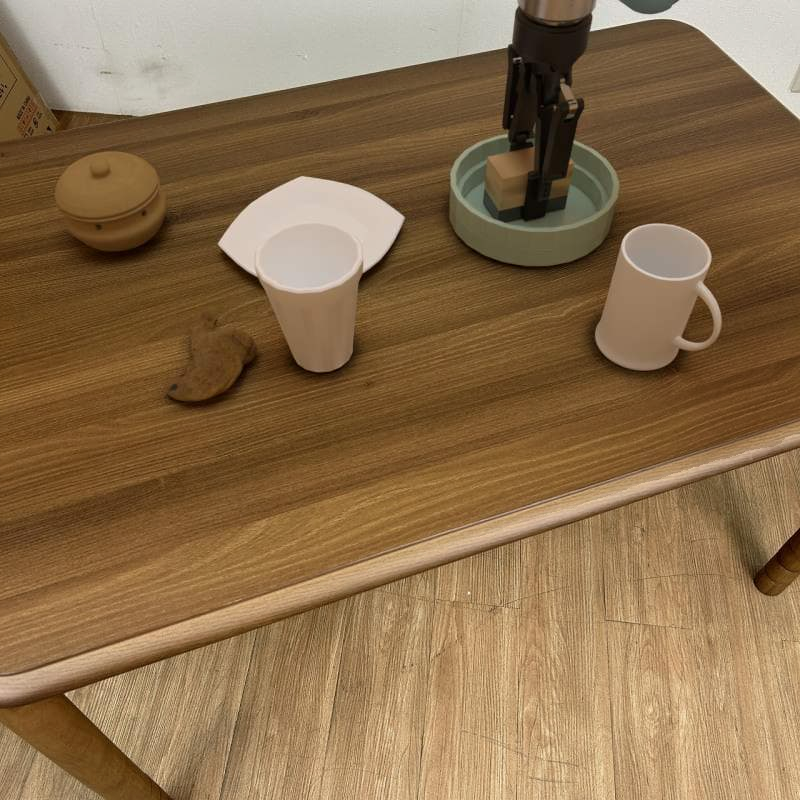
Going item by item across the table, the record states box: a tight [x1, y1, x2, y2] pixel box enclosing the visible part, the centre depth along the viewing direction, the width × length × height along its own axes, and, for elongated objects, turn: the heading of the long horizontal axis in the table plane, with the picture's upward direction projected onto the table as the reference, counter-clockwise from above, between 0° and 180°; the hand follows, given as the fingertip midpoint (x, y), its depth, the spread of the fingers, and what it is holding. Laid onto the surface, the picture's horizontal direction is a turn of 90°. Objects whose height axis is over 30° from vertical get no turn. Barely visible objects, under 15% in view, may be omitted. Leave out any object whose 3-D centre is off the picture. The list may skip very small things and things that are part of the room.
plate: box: [217, 175, 406, 278], centre depth 88 cm, size 19×19×2 cm
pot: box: [53, 150, 167, 253], centre depth 86 cm, size 12×12×10 cm
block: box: [483, 147, 574, 223], centre depth 88 cm, size 9×4×6 cm, turn 109°
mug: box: [594, 223, 723, 372], centre depth 72 cm, size 12×8×12 cm
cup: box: [254, 221, 364, 373], centre depth 72 cm, size 10×10×13 cm
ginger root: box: [165, 310, 258, 403], centre depth 75 cm, size 10×10×4 cm
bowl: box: [448, 133, 620, 267], centre depth 89 cm, size 19×19×6 cm
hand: (524, 203), depth 91 cm, fingers closed on block, 4 cm apart
